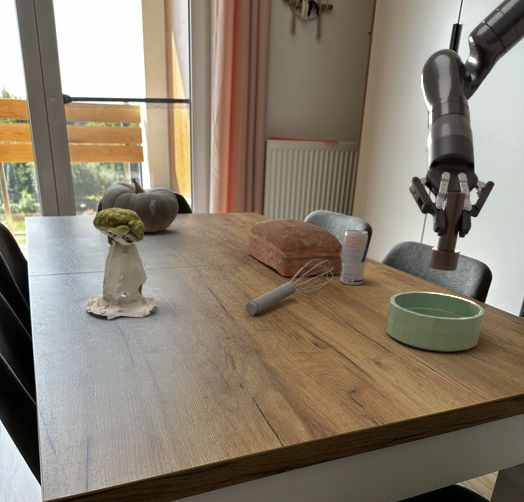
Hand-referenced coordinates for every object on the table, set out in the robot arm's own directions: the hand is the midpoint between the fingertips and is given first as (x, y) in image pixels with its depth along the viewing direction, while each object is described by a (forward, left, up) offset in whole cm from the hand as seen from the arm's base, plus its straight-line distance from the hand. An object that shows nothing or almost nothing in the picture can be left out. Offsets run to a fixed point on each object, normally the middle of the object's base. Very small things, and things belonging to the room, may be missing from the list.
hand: (452, 233), depth 81 cm
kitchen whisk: (+19, -25, -19) cm, 37 cm away
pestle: (0, -2, -6) cm, 6 cm away
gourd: (+55, -105, -19) cm, 120 cm away
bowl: (-1, -2, -18) cm, 18 cm away
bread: (+13, -57, -18) cm, 61 cm away
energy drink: (+2, -38, -19) cm, 42 cm away
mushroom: (+53, -18, -19) cm, 59 cm away
